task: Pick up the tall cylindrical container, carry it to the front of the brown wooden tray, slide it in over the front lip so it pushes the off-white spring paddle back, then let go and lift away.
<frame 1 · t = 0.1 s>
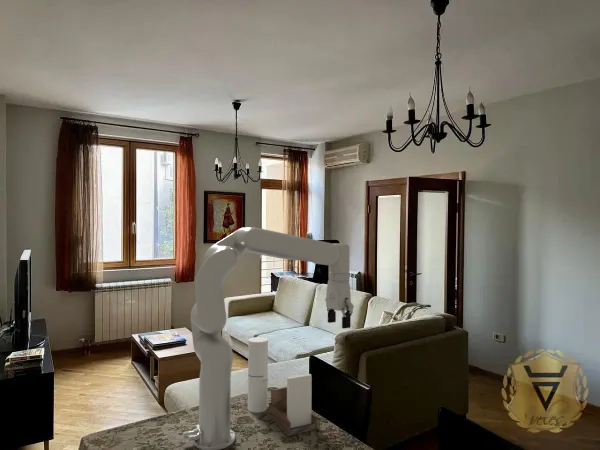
hand: (338, 325, 144), 31 cm above the table, tool pointing down, fingers open, 9 cm apart
brown wooden tray: (292, 421, 136), on the table
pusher: (299, 400, 132), point 9 cm above the table, slide at 0.0 cm
cylindrical container: (257, 408, 147), on the table
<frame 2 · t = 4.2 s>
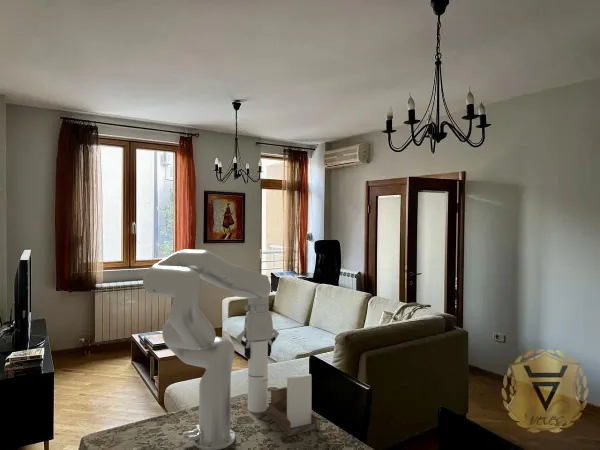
hand: (257, 356, 147), 19 cm above the table, tool pointing down, fingers closed on cylindrical container, 7 cm apart
cylindrical container: (257, 408, 147), on the table, touching gripper
everything else where it was.
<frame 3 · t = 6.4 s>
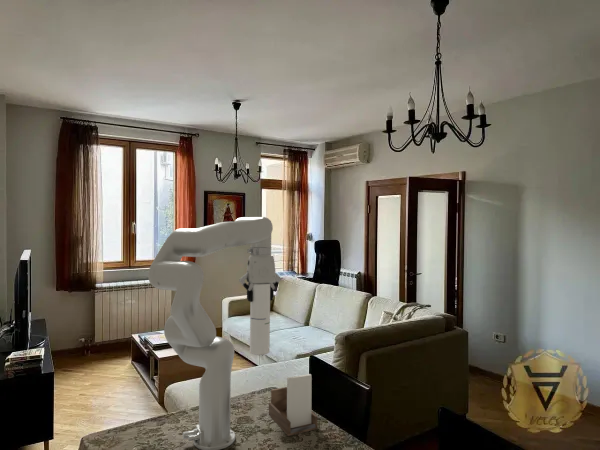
hand: (260, 300, 147), 40 cm above the table, tool pointing down, fingers closed on cylindrical container, 7 cm apart
cylindrical container: (259, 352, 146), point 21 cm above the table, touching gripper
everything else where it was.
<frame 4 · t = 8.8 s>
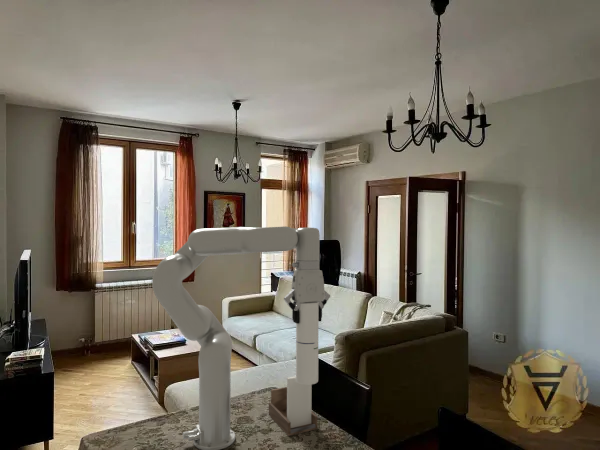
hand: (307, 321, 128), 36 cm above the table, tool pointing down, fingers closed on cylindrical container, 7 cm apart
cylindrical container: (307, 381, 127), point 17 cm above the table, touching gripper
everything else where it was.
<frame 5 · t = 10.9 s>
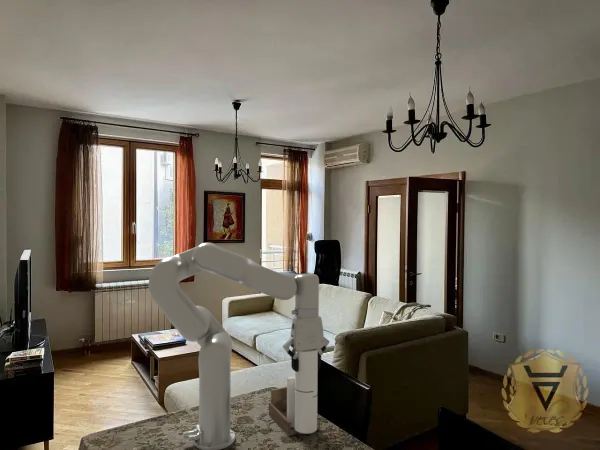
hand: (306, 368, 127), 21 cm above the table, tool pointing down, fingers closed on cylindrical container, 7 cm apart
cylindrical container: (305, 428, 127), point 2 cm above the table, touching gripper
everything else where it was.
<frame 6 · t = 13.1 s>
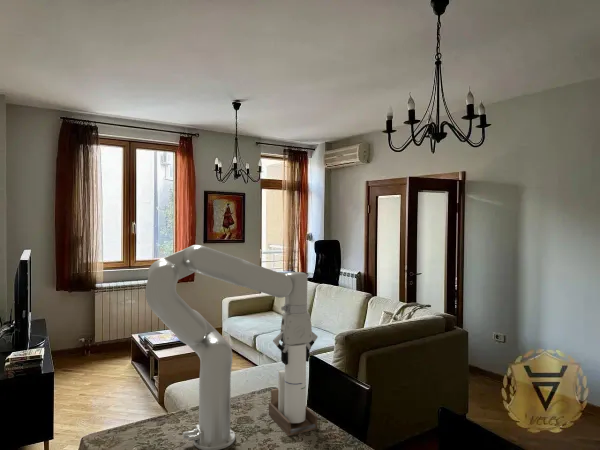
hand: (295, 361, 135), 21 cm above the table, tool pointing down, fingers closed on cylindrical container, 7 cm apart
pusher: (290, 393, 138), point 9 cm above the table, slide at 7.1 cm, touching cylindrical container
cylindrical container: (294, 418, 134), point 2 cm above the table, touching gripper, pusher
when the fingers open (21 cm above the table, at t = 13.5 s): cylindrical container drops 2 cm, resting on brown wooden tray, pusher.
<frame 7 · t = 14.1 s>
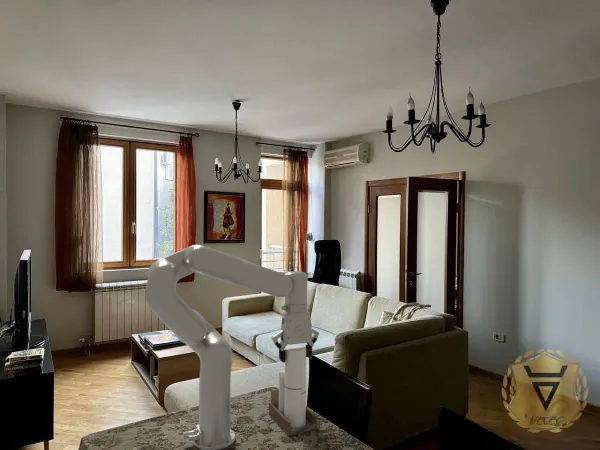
hand: (295, 359, 135), 22 cm above the table, tool pointing down, fingers open, 9 cm apart
cylindrical container: (294, 423, 134), resting on brown wooden tray, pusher
everything else where it was.
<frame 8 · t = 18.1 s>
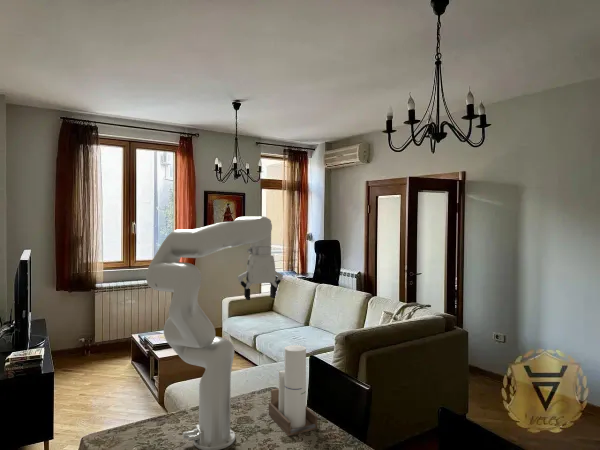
hand: (260, 298, 146), 40 cm above the table, tool pointing down, fingers open, 9 cm apart
nothing on the table moved.
at the end: cylindrical container 0.5 cm from the target spot on the brown wooden tray, point 0.4 cm above the brown wooden tray's base; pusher slide at 6.8 cm; cylindrical container tilted 0° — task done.
